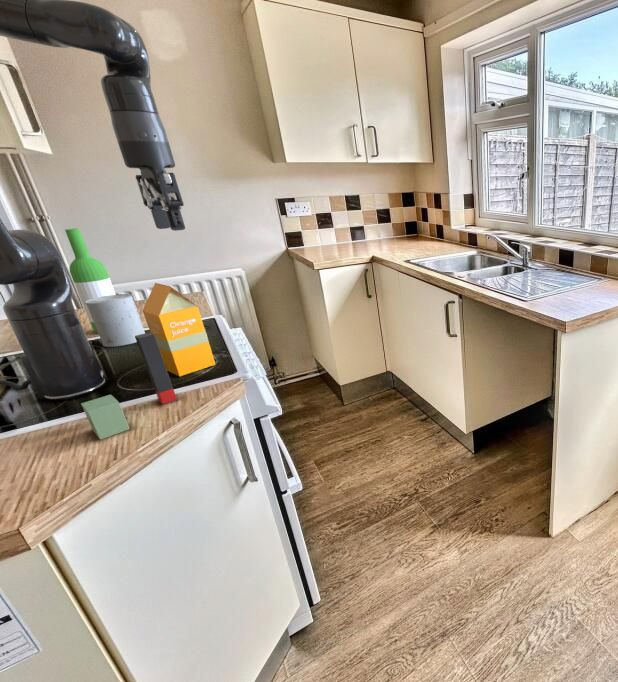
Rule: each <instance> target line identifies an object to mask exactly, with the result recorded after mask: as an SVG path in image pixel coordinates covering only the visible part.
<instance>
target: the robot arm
mask: <svg viewBox="0 0 618 682" xmlns="http://www.w3.org/2000/svg"><path fill="white" fill-rule="evenodd" d="M0 37H4V38H9V39H13V40H17V41H23V42H27V43H32V44H37V45H41V46H46V47H52V48H58V49H69V48H73V49H74V48H75V49H79V50H84V51H88V52H92V53H96V54H98V55H102V57H103V59H104V63H105V69H106V74H105V75H103V76H102V77H101V78H100V85H101V89H102V90H101V91H102V94H103V96H104V100H105V102H106V106H107V108H108V111H109V115H110V120H111V125H112V126H111V127H112V129H113V132H114V135H115V138H116V141H117V144H118V148H119V150H120V153H121V156H122V160H123V162H124V165H125V167H126V168H129V169H139V170H140V174H136V175H135V180H136V182H137V185H138V189H139V192H140V195H141V199H142V201H143V205H144V206H145V207H147V209H148V210H150V212H151V215H152V219H153V221H154V225H155V227H156V228H157V229H158V230H163V229H164V230H167V229H171V231H175V232H177V231H184V230H186V226H185V222H184V219H183V218H184V217H183V215H182V212H181V210H182V207H184V206H185V205H184V200H183V198H182V194H181V191H180V188H179V185H178V182H177V179H176V175H175V173H174V172H167V170H166V169H173V168H175V167H176V162H175V159H174V155H173V152H172V148H171V145H170V142H169V138H168V135H167V132H166V129H165V126H164V123H163V122H162V119H161V117H160V113H159V110H158V107H157V103H156V100H155V96H154V93H153V91H152V87H151V86H152V84H151V81H152V80H151V69H150V68H151V67H150V60H149V54H148V50H147V46H146V43H145V42H144V40H143V38H142V36H141V34H140V32H139V31H138V30H137V29H136V28H135V27H134V26H133V24H131V23H129V22H127V21H126V20H124V19H123V18H121V17H120V16H118V15H116V14H115V13H113V12H112V11H110V10H108V9H106V8H104V7H101V6H99V5H96V4H92V3H88V2H83V1H78V0H0ZM0 285H3V286H8V285H12V286H13V291H12V294H11V295H10V297H9V298H8V299H7V301H6V302H5V303H3V305H2V310H3V313H4V314H5V316H6V319H7V321H8V323H9V325H10V327H11V329H12V331H13V333H14V335H15V337H16V339H17V341H18V343H19V345H20V347H21V349H22V352H23V353H24V354H23V355H21V356H20V361H21V363H22V365H23V367H24V369H25V371H26V373H27V375H28V377H29V378H28V379H26V380H24V381H23V382H22V383H21V384H18V383H16V382H13V381H9V380H3V379H0V385H2V386H7V387H11V388H13V389H15V390H19V391H20V390H22V391H23V390H26V389H28V388H29V385H32V387H33V389H34V390H35V392H36V393H37V395H38V398H39V400H46V401H49V402H53V401H54V402H55V401H65V400H71V399H75V398H79V397H82V396H85V395H89V394H91V393H94V392H96V391H98V390H100V389H102V388H103V387H105V386H106V385H107V381H106V379H105V377H104V371H103V369H101V368H100V365H99V363H98V361H97V357H96V356H95V354H94V352H93V349H92V347H91V344H90V342H89V339H88V337H87V334H86V332H85V330H84V327H83V326H82V323H81V321H80V318H79V316H78V313H77V311H76V309H75V305H74V304H73V295H74V292H73V286H72V284H71V281H70V278H69V275H68V272H67V269H66V267H65V263H64V261H63V259H62V256H61V254H60V252H59V251H58V249H57V247H56V246H55V244H54V243H53V242H52V241H51V240H50V239H49V238H48V237H46V236H45V235H43V234H42V233H39V232H37V231H34V230H31V229H12V230H11V229H10V230H9V229H8V228H7V226H6V225H5V223H4V222H3V220H2V218H0Z"/></svg>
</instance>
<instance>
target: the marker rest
mask: <svg viewBox="0 0 618 682" xmlns="http://www.w3.org/2000/svg"><path fill="white" fill-rule="evenodd" d="M80 405H81V408H82V409H83V412H84V414H85V417H86V419H87V421H88V423H89V425H90V427H91V430H92V431H93V432H94V434H95V435H96V436H97V438H98V439H99V440H103V439H107V438H109V437H112V436H115V435H117V434H120V433H122V432H126V431H128V430H130V429H131V428H130V426H129V423H128V421H127V419H126V416H125V414H124V411H123V408H122V406H121V404H120V402H119V401H118V400H117V398H115V397H114V396H113V395H112V394H108V395H105V396H101V397H98V398H94V399H91V400H88V401H85V402H82V403H80Z"/></svg>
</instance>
